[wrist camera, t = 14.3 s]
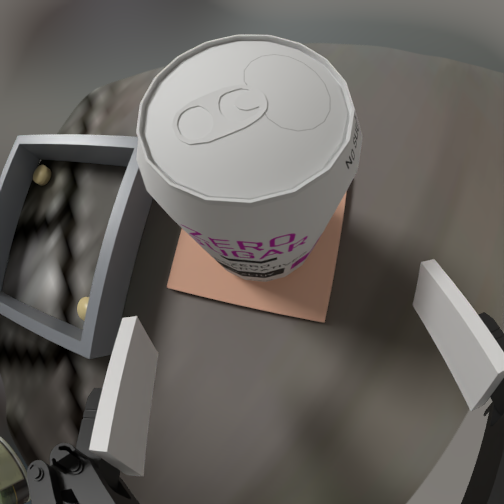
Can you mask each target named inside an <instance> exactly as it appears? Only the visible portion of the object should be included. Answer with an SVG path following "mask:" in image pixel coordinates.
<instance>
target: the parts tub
mask: <svg viewBox="0 0 504 504" xmlns="http://www.w3.org/2000/svg"><path fill="white" fill-rule="evenodd" d="M137 147H138V137H129V136H109V135H18V137H17V139H16V141H15V143H14V146H13V148H12V150H11V152H10V155H9V157H8V159H7V162H6V164H5V166H4V169H3V171H2V174H1V177H0V314H2V315H4V316H5V317H7V318H9V319H10V320H12V321H14V322H16V323H17V324H19V325H21V326H23V327H25V328H27V329H28V330H30V331H32V332H34V333H36V334H38V335H40V336H42V337H44V338H46V339H48V340H50V341H52V342H54V343H56V344H58V345H60V346H62V347H64V348H66V349H68V350H70V351H73V352H75V353H77V354H79V355H81V356H84V357H86V358H88V359H92V358H97V357H102V356H107V355H112V351H113V348H114V344H115V341H116V338H117V334H118V331H119V328H120V324H121V319H122V314H123V310H124V305H125V301H126V296H127V292H128V287H129V283H130V279H131V275H132V271H133V267H134V263H135V259H136V255H137V252H138V248H139V244H140V241H141V237H142V233H143V230H144V226H145V223H146V220H147V216H148V213H149V210H150V206H151V203H152V200H153V197H152V196H151V195H150V194H149V193H148V192H147V190H146V187H145V184H144V181H143V178H142V175H141V172H140V169H139V166H138V162H137V159H136V158H137ZM40 159H41V160H57V161H71V162H83V163H95V164H106V165H116V166H125V167H127V169H126V172H125V175H124V178H123V180H122V183H121V186H120V189H119V192H118V195H117V198H116V201H115V204H114V207H113V210H112V213H111V216H110V220H109V223H108V226H107V230H106V233H105V236H104V240H103V244H102V247H101V251H100V255H99V258H98V262H97V266H96V270H95V274H94V278H93V283H92V287H91V292H90V296H89V297H84V298H82V299H81V300H80V301H79V303H78V306H77V311H78V315H79V317H80V318H81V319H82V320H84V326H83V329H80V328H78V327H76V326H73V325H71V324H68V323H66V322H64V321H61V320H59V319H57V318H55V317H52V316H50V315H48V314H46V313H44V312H41V311H39V310H37V309H35V308H33V307H31V306H29V305H27V304H25V303H23V302H21V301H19V300H17V299H15V298H13V297H11V296H9V295H7V294H5V293H3V292H1V290H2V285H3V280H4V275H5V270H6V265H7V261H8V257H9V253H10V249H11V245H12V241H13V237H14V234H15V230H16V227H17V223H18V220H19V217H20V213H21V210H22V207H23V204H24V201H25V198H26V195H27V193H28V190H29V187H30V184H31V182H32V179H33V181H34V182H35V183H37V184H39V185H40V186H44V185H46V184H47V183H48V182H49V180H50V178H51V170H50V169H49V168H47V167H46V166H45V165H40V166H38V164H39V161H40ZM37 166H38V167H37Z"/></svg>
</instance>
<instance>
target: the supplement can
mask: <svg viewBox="0 0 504 504" xmlns="http://www.w3.org/2000/svg"><path fill="white" fill-rule="evenodd" d="M136 132H137V136H138V147H137V158H136V159H137V162H138V166H139V169H140V172H141V175H142V178H143V181H144V184H145V187H146V190H147V192H148V193H149V194H150V195H151V196H152V197H153V198H154V199H155V200H156V202H157V203H158V204H159V205H160V206H161V207H162V208H163V209H164V210H165V211H166V213H167V214H168V215H169V216H170V217H171V218H172V219H173V220H174V221H175V222H176V223H177V224H178V225H179V226H180V227H181V228H182V229H183V230H184V231H186V232H187V233H188V234H189V235H190V236H191V237H192V238H193V239H194V240H195V241H196V242H197V243H198V244H199V245H200V246H201V247H202V248H203V249H204V250H205V251H206V252H207V253H209V254H210V255H211V256H212V257H213V258H214V259H215V260H216V261H217V262H218V263H219V264H220V265H221V266H222V267H223V268H224V269H225V270H227V271H228V272H230V273H232V274H234V275H236V276H238V277H240V278H242V279H244V280H251V281H262V282H267V281H271V280H275V279H279V278H282V277H286V276H287V275H289V274H290V273H292V272H293V271H294V270H296V269H297V268H299V267H300V266H302V265H303V263H304V262H305V260H306V259H307V257H308V256H309V254H310V253H311V251H312V250H313V248H314V247H315V245H316V243H317V242H318V240H319V238H320V236H321V235H322V233H323V231H324V230H325V228H326V226H327V224H328V223H329V221H330V219H331V217H332V216H333V214H334V212H335V210H336V209H337V207H338V205H339V203H340V202H341V200H342V198H343V196H344V194H345V193H346V191H347V189H348V187H349V186H350V184H351V182H352V180H353V178H354V176H355V175H356V173H357V171H358V165H359V159H360V152H361V145H362V138H363V136H362V133H361V129H360V125H359V122H358V118H357V115H356V111H355V108H354V105H353V102H352V99H351V96H350V93H349V90H348V86H347V83H346V81H345V80H344V79H343V78H342V76H341V75H340V74H339V73H338V72H337V70H336V69H335V68H334V67H333V66H332V64H331V63H330V62H329V61H328V60H327V59H326V58H324V57H323V56H321V55H319V54H318V53H316V52H314V51H313V50H311V49H309V48H308V47H306V46H304V45H303V44H301V43H298V42H294V41H291V40H287V39H283V38H279V37H276V36H271V35H233V36H229V37H224V38H220V39H216V40H212V41H208V42H205V43H203V44H201V45H199V46H197V47H195V48H193V49H191V50H189V51H187V52H185V53H183V54H181V55H179V56H178V57H176V58H175V59H174V60H173V61H172V62H171V63H170V64H169V65H167V66H166V67H165V68H164V69H163V70H162V71H161V72H160V73H159V74H158V75H157V76H156V77H155V78H154V79H153V81H152V83H151V85H150V86H149V88H148V90H147V92H146V93H145V95H144V97H143V99H142V101H141V103H140V108H139V115H138V122H137V130H136Z"/></svg>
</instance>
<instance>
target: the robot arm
mask: <svg viewBox="0 0 504 504" xmlns="http://www.w3.org/2000/svg"><path fill="white" fill-rule="evenodd" d="M413 307H414V309H415V310H416V312H417V314H418V315H419V317H420V318H421V320H422V322H423V323H424V325H425V327H426V329H427V330H428V332H429V334H430V335H431V337H432V339H433V341H434V342H435V344H436V346H437V348H438V349H439V351H440V353H441V355H442V356H443V358H444V360H445V362H446V364H447V366H448V367H449V369H450V371H451V373H452V375H453V377H454V379H455V381H456V383H457V385H458V386H459V388H460V390H461V392H462V394H463V396H464V398H465V400H466V402H467V405H468V407H469V409H470V411H473V410H475V409H477V408H479V407H480V406H482V405H484V404H485V403H486V402H487V401H488V399H489V398H490V397H491V399H492V401H493V402H492V403H491V405H490V406H489V407H488V408H487V409H486V411H485V413H484V416H486V414H487V413H488V412H489V416H488V421H487V424H486V429H485V433H484V437H483V441H482V444H481V448H480V451H479V455H478V458H477V461H476V464H475V467H474V471H473V473H472V476H471V479H470V482H469V485H468V487H467V490H466V493H465V495H464V498H463V500H462V503H461V504H504V333H503V332H502V330H501V329H500V327H499V326H498V325H497V323H496V322H495V320H494V319H493V318H492V317H490V316H489V315H487V314H486V313H485V312H484V313H481V314H479V315H478V314H477V313H476V311H475V310H474V309H473V307H472V306H471V305H470V303H469V302H468V301H467V299H466V298H465V297H464V296H463V294H462V293H461V292H460V290H459V289H458V288H457V287H456V285H455V284H454V283H453V282H452V280H451V279H450V278H449V277H448V275H447V274H446V273H445V272H444V270H443V269H442V268H441V267H440V266H439V264H438V263H437V262H436V261H435V260H434V259H432V260H428V261H424V262H421V265H420V271H419V276H418V281H417V287H416V292H415V296H414V301H413ZM158 356H159V353H158V352H157V350H156V348H155V347H154V345H153V343H152V342H151V340H150V338H149V336H148V335H147V333H146V331H145V329H144V328H143V326H142V324H141V322H140V321H139V319H138V317H137V316H133V317H126V318H122V321H121V325H120V328H119V331H118V334H117V338H116V341H115V344H114V348H113V351H112V355H111V358H110V362H109V366H108V369H107V373H106V377H105V381H104V385H103V388H94V389H93V391H92V392H91V394H90V395H89V397H88V399H87V403H86V407H85V411H84V415H83V419H82V423H81V427H80V431H79V436H78V440H77V445H76V448H75V447H73V446H72V445H70V444H68V443H60V444H58V445H56V446H55V447H54V448H53V449H52V452H51V454H50V465H48V464H46V463H45V462H43V461H41V460H35V461H34V462H32V463H31V464H30V465H29V467H28V470H27V481H28V487H29V492H30V498H31V502H32V504H139V502H138V501H137V500H136V498H135V497H134V496H133V494H132V493H131V492H130V490H129V489H128V487H127V486H126V484H125V483H124V482H123V480H122V479H121V478H120V477H119V475H120V471H121V472H123V473H124V474H126V475H131V476H144V466H145V455H146V445H147V436H148V427H149V419H150V411H151V403H152V396H153V388H154V382H155V375H156V368H157V362H158Z"/></svg>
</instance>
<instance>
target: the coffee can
mask: <svg viewBox="0 0 504 504" xmlns="http://www.w3.org/2000/svg"><path fill="white" fill-rule="evenodd" d="M30 500H31V498H30V492H29V487H28V481H27V471H26V469H25V467H24V465H23V464H22V462H21V460H20V459H19V457H18V456H17V454H16V453H15V451H14V450H13V449H12V448H11V446H10V445H9V444H8V443H7V442H6V441H5V440H4V439H3V438H2V437H0V504H24V503H26V502H28V501H30Z"/></svg>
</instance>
